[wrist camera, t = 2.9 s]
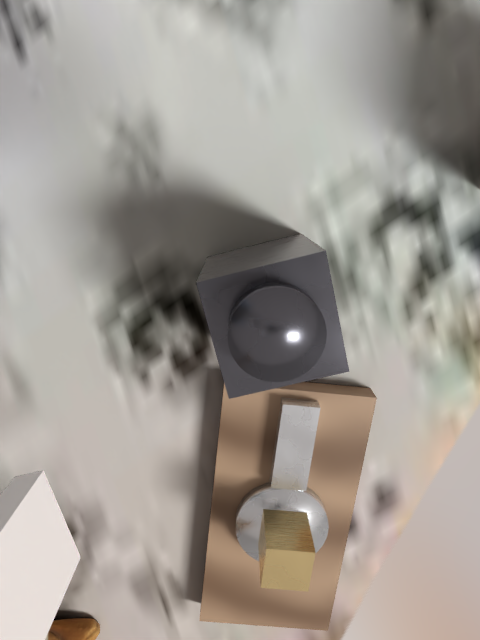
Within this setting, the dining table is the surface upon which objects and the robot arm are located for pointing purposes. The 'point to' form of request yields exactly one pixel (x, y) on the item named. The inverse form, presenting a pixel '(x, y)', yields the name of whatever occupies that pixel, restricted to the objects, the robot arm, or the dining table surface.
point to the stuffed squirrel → (74, 629)
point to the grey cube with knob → (272, 315)
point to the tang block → (283, 503)
